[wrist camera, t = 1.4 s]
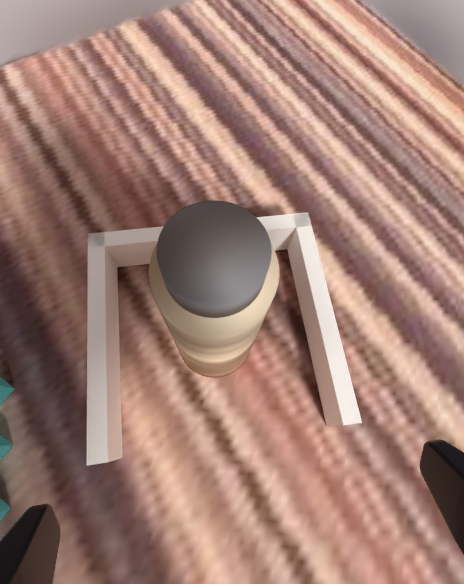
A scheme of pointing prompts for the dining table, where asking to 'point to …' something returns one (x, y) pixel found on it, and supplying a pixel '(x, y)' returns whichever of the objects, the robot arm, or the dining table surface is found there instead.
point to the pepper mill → (214, 283)
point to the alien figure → (4, 439)
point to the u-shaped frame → (137, 251)
